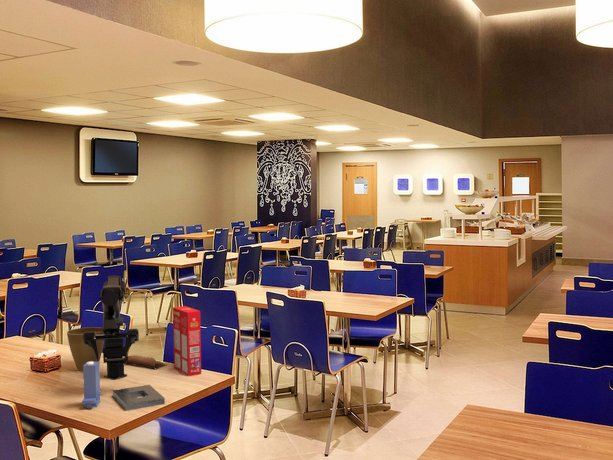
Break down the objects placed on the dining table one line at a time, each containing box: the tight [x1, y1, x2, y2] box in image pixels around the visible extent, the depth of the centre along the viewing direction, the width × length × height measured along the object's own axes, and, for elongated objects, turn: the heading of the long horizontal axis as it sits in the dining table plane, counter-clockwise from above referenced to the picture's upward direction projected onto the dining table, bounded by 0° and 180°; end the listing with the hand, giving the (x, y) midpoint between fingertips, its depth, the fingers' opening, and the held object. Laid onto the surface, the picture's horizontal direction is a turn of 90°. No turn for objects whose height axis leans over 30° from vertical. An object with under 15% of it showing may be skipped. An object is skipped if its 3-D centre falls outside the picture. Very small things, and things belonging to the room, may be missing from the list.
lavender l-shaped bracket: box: [81, 361, 103, 409], centre depth 215 cm, size 10×4×15 cm, turn 4°
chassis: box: [112, 384, 166, 411], centre depth 220 cm, size 18×13×2 cm
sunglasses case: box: [124, 354, 167, 370], centre depth 266 cm, size 18×7×7 cm
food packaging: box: [172, 305, 202, 377], centre depth 255 cm, size 15×5×25 cm, turn 34°
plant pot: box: [66, 326, 105, 372], centre depth 260 cm, size 15×15×16 cm
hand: (111, 359), depth 223 cm, fingers open, 9 cm apart
